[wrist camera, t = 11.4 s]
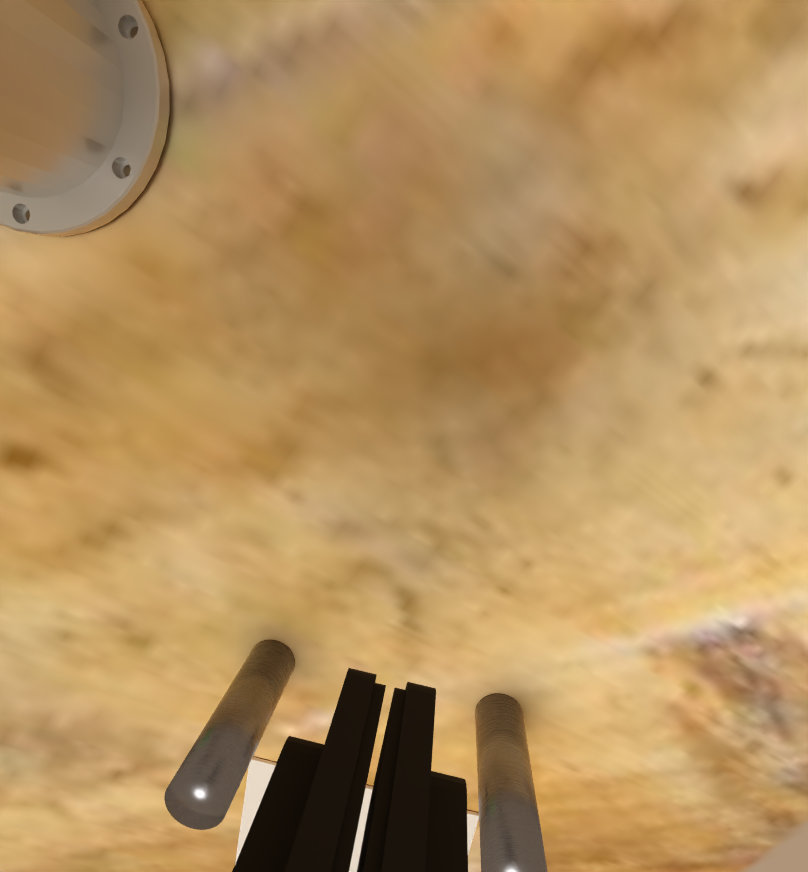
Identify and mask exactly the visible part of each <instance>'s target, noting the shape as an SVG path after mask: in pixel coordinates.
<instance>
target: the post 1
mask: <svg viewBox="0 0 808 872" xmlns="http://www.w3.org/2000/svg"><path fill="white" fill-rule="evenodd" d="M294 666H295V660H294V656H293V654H292V652H291V651H290V649H289V648H288V647H287V646H286V645H284V644H282V643H281V642H278V641H274V640H265V641H262V642H260V643H258V644H257V645H256V646H255V647H254V648H253V650H252V651H251V653H250V654H249V656H248V658H247V659H246V661H245V663H244V664H243V666H242V667H241V669H240V671H239V672H238V674H237V676H236V677H235V679H234V680H233V682H232V684H231V685H230V687H229V689H228V690H227V692H226V693H225V695H224V697H223V698H222V700H221V702H220V703H219V705H218V706H217V708H216V710H215V711H214V713H213V714H212V716H211V718H210V719H209V721H208V723H207V724H206V726H205V727H204V729H203V731H202V732H201V734H200V736H199V737H198V739H197V740H196V742H195V744H194V745H193V747H192V749H191V750H190V752H189V753H188V755H187V757H186V758H185V760H184V762H183V763H182V765H181V766H180V768H179V770H178V771H177V773H176V775H175V776H174V778H173V779H172V781H171V783H170V784H169V786H168V788H167V789H166V792H165V804H166V807H167V809H168V811H169V813H170V814H171V815H172V816H173V817H174V818H175V819H176V820H177V821H178V822H180V823H181V824H183V825H185V826H187V827H190V828H193V829H199V830H205V829H210V828H213V827H215V826H217V825H218V824H220V823H221V822H222V820H223V819H224V817H225V815H226V813H227V811H228V808H229V806H230V804H231V802H232V800H233V798H234V796H235V793H236V791H237V789H238V787H239V785H240V783H241V781H242V778H243V776H244V774H245V772H246V770H247V768H248V766H249V763H250V761H251V759H252V757H253V755H254V753H255V751H256V748H257V746H258V744H259V742H260V740H261V738H262V736H263V733H264V731H265V729H266V727H267V725H268V723H269V721H270V718H271V716H272V714H273V712H274V710H275V708H276V706H277V703H278V701H279V699H280V697H281V695H282V693H283V691H284V689H285V686H286V684H287V682H288V680H289V678H290V676H291V674H292V671H293V669H294Z"/></svg>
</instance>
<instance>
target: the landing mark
mask: <svg viewBox="0 0 808 872" xmlns="http://www.w3.org/2000/svg"><path fill="white" fill-rule="evenodd" d="M275 766H276V762H272V761H268V760H264V759H260V758H256V757H252V759H251V761H250V763H249V769H248V776H247V783H246V791H245V798H244V805H243V812H242V819H241V826H240V833H239V840H238V847H237V854H236V861H235V864H236V862H237V859H238V857H239V854H240V852H241V849H242V847H243V844H244V842H245V839H246V837H247V835H248V832H249V830H250V827H251V825H252V822H253V820H254V817H255V815H256V812H257V810H258V808H259V805H260V803H261V800H262V798H263V795H264V793H265V790H266V788H267V785H268V783H269V781H270V778H271V776H272V773H273V771H274V768H275ZM372 790H373V787H372V786H368V785H366V788H365V793H364V798H363V803H362V808H361V813H360V818H359V823H358V828H357V833H356V838H355V843H354V848H353V853H352V858H351V863H350V868H349V872H357V868H358V863H359V857H360V852H361V846H362V841H363V836H364V830H365V825H366V819H367V814H368V809H369V804H370V799H371V795H372ZM478 819H479V813H476V812H472V811H468V810H467V843H468V854H469V850H470V847H471V843H472V840H473V836H474V833H475V829H476V826H477V822H478Z"/></svg>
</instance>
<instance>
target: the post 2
mask: <svg viewBox="0 0 808 872" xmlns="http://www.w3.org/2000/svg"><path fill="white" fill-rule="evenodd" d="M475 718H476V744H477V770H478V796H479V822H480V848H481V872H547V866H546V860H545V854H544V847H543V841H542V834H541V828H540V822H539V815H538V809H537V803H536V796H535V790H534V783H533V777H532V771H531V764H530V758H529V751H528V745H527V739H526V732H525V726H524V719H523V713H522V709H521V707H520V705H519V704H518V702H517V701H516V700H514V699H513V698H511V697H510V696H507V695H504V694H492V695H489V696H486V697H484V698H483V699H482V700H481V701H480V702H479V703H478V705H477V707H476V710H475Z"/></svg>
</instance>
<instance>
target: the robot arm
mask: <svg viewBox="0 0 808 872" xmlns="http://www.w3.org/2000/svg"><path fill="white" fill-rule="evenodd" d="M169 114H170V104H169V79H168V73H167V68H166V62H165V56H164V51H163V49H162V46H161V43H160V40H159V37H158V34H157V31H156V28H155V25H154V22H153V21H152V19H151V17H150V15H149V13H148V11H147V9H146V7H145V6H144V4H143V2H142V0H0V225H2V226H5V227H8V228H11V229H13V230H16V231H21V232H26V233H31V234H37V235H42V236H69V235H75V234H80V233H85V232H89V231H91V230H93V229H96V228H98V227H100V226H103V225H105V224H107V223H109V222H110V221H112V220H113V219H114V218H116V217H117V216H119V215H120V214H121V213H123V212H124V211H125V210H127V209H128V208H129V207H130V205H131V204H132V203H133V202H134V201H135V200H136V199H137V197H138V196H139V195H140V194H141V193H142V192H143V191H144V189H145V187H146V185H147V184H148V182H149V180H150V178H151V176H152V175H153V173H154V171H155V169H156V168H157V165H158V162H159V159H160V156H161V153H162V150H163V147H164V144H165V140H166V134H167V127H168V121H169ZM130 169H131V171H130ZM129 172H130V174H129ZM375 680H376V674H372V673H368V672H363V671H359V670H355V669H351V668H349V669H348V672H347V675H346V678H345V681H344V684H343V687H342V691H341V694H340V697H339V700H338V703H337V707H336V710H335V713H334V716H333V719H332V723H331V726H330V729H329V732H328V735H327V739H326V742H325V745H323V744H319V743H315V742H311V741H307V740H303V739H299V738H295V737H291V736H289V737H288V738H287V740H286V742H285V744H284V746H283V749H282V751H281V754H280V756H279V758H278V761H277V763H276V766H275V768H274V771H273V773H272V776H271V778H270V781H269V783H268V785H267V788H266V790H265V793H264V795H263V798H262V800H261V803H260V805H259V808H258V810H257V812H256V815H255V817H254V820H253V822H252V825H251V827H250V830H249V832H248V835H247V837H246V839H245V842H244V844H243V847H242V849H241V852H240V854H239V857H238V859H237V862H236V864H235V866H234V869H233V871H232V872H349V868H350V863H351V858H352V853H353V848H354V843H355V838H356V833H357V828H358V823H359V818H360V813H361V808H362V803H363V798H364V793H365V788H366V783H367V778H368V773H369V768H370V763H371V758H372V753H373V748H374V743H375V738H376V733H377V728H378V722H379V717H380V712H381V707H382V702H383V697H384V692H385V687H386V685H382V684H377V683H375ZM435 699H436V689H435V688H431V687H427V686H423V685H418V684H414V683H410V682H407V685H406V689H405V690H403V689H399V688H395V689H394V693H393V698H392V703H391V707H390V712H389V716H388V721H387V726H386V730H385V735H384V739H383V744H382V749H381V753H380V758H379V762H378V767H377V772H376V776H375V781H374V785H373V790H372V795H371V799H370V804H369V809H368V814H367V819H366V825H365V830H364V836H363V841H362V846H361V852H360V857H359V863H358V868H357V872H468V843H467V789H466V781H465V779H462V778H458V777H454V776H450V775H445V774H441V773H437V772H433V771H431V762H432V746H433V731H434V715H435Z"/></svg>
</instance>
